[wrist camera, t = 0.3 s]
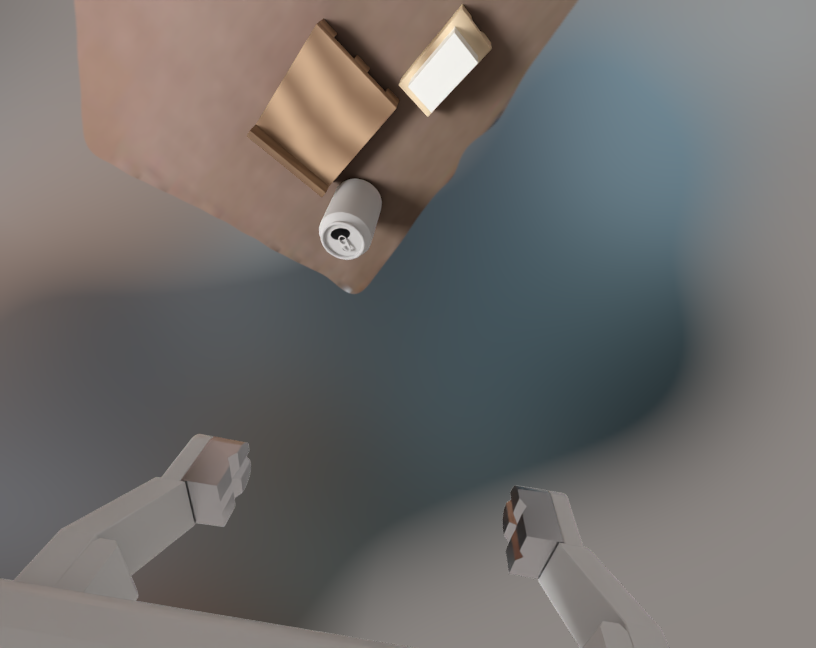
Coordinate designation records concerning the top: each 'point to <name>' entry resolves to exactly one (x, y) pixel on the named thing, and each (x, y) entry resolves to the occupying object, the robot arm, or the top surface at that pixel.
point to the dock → (322, 111)
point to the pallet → (458, 20)
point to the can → (350, 219)
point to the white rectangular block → (443, 70)
